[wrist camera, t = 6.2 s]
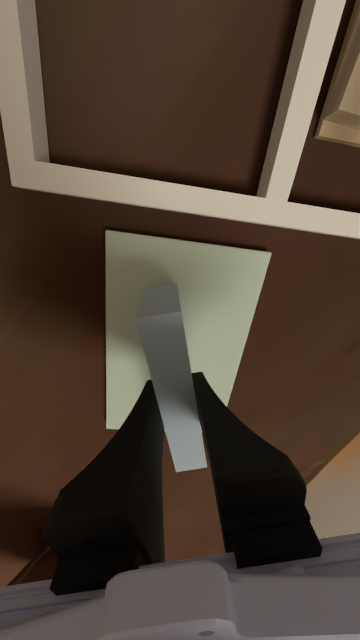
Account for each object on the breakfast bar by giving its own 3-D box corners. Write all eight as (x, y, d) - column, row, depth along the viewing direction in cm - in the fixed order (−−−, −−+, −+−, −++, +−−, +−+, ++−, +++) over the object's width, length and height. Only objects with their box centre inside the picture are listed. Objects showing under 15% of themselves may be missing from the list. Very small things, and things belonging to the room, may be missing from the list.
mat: (267, 251, 14) (271, 253, 14) (217, 428, 21) (219, 433, 20) (107, 229, 13) (105, 230, 13) (108, 422, 20) (106, 428, 19)
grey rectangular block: (176, 283, 13) (181, 311, 9) (198, 412, 18) (207, 467, 14) (144, 288, 13) (135, 318, 9) (174, 416, 18) (176, 472, 14)
